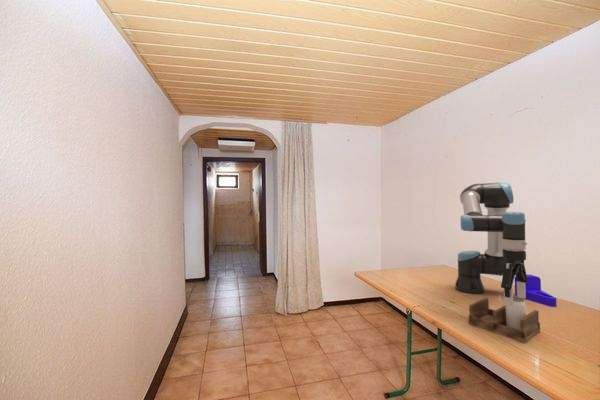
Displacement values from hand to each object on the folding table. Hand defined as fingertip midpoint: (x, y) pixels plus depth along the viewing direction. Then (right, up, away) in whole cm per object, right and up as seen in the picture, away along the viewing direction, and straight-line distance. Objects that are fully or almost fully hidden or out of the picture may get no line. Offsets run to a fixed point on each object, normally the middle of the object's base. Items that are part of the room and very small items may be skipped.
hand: (515, 301), depth 111 cm
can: (0, -11, 0) cm, 11 cm away
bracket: (+40, -13, +34) cm, 53 cm away
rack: (-3, -12, +3) cm, 13 cm away
